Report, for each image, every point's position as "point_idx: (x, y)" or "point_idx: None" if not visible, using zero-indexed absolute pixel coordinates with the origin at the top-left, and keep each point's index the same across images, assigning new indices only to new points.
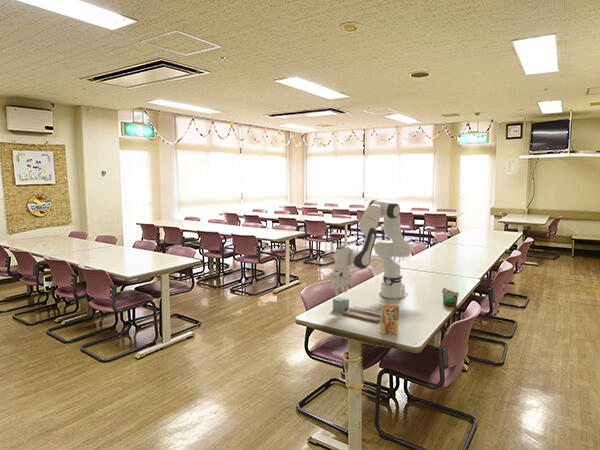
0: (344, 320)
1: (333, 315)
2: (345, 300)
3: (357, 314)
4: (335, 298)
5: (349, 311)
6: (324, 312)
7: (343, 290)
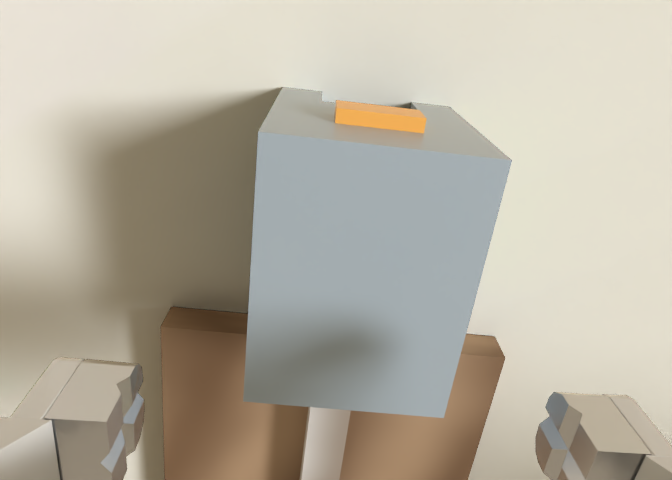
0: (11, 399)
1: (63, 212)
2: (333, 395)
3: None
4: (359, 156)
5: None
6: (77, 11)
7: (577, 425)
